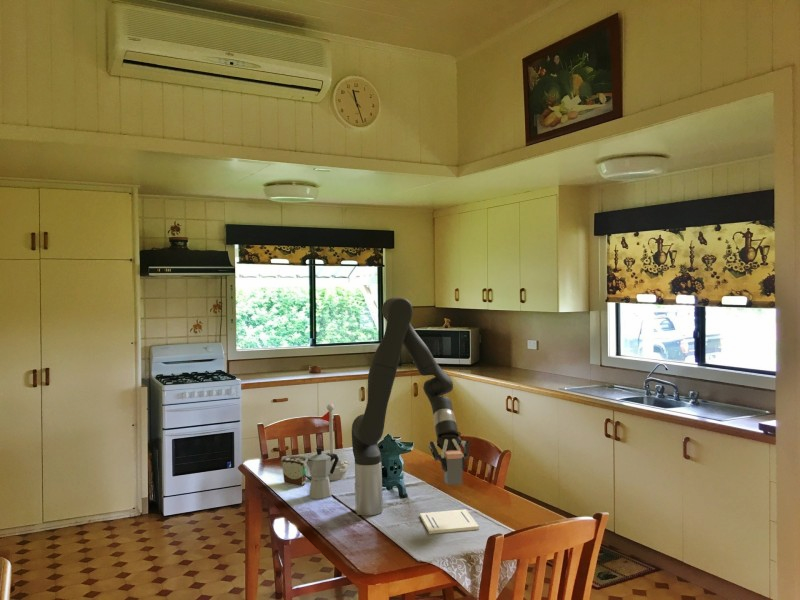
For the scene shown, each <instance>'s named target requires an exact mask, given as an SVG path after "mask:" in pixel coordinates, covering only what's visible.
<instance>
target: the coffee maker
mask: <svg viewBox="0 0 800 600" xmlns="http://www.w3.org/2000/svg"><path fill="white" fill-rule="evenodd" d="M315 449H316V454H312V455H311V456H308V457H307V461H306V462H305V463H307V467H308V469H309V474H310V476H311V479H310V486H309V495H308V498H310V499H312V500H325V499H328V498H331V497H332V495H333V492H332V486H331V483H330V482H331V480H329V477H328V475H329V473H331V474H333V472H334V470H335V467H336V465H337V462H338V460H339V457H338V455H337V454H336V453H334V454H330V452H327V453H322V452H323V448H322V447H316V448H315ZM333 459H334V463H333V465H332V468H331V470H330V462H331V461H332V460H333Z"/></svg>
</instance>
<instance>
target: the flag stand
mask: <svg viewBox="0 0 800 600" xmlns="http://www.w3.org/2000/svg"><path fill="white" fill-rule="evenodd" d="M326 409H327V410H328V411H327V412H326V413H325V414H324V415H323V416H321V417H320V419H322V420H323V421H326V422H328V428H329V430H328V431H329V432H328V433H329V434H328V435H329V454H335V452H334V451H335V450H334V448H335V447H334V419H333V417H334V416H333V411H334V409H335V405H334V404H332V403H329V404H327V405H326ZM334 460H335V459H333V460H332V461H331V462H330V470H331V468H332V465H333V463H334ZM348 470H349V462H348V461H347V460H344V461H343V459H339V460H338V462H337V465H336V467H335V470H334V472H333V474H331V473H329V475H328V477H329V481H338V480H339V481H340V480H342V479H344V478H346V477H347V471H348Z"/></svg>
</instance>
